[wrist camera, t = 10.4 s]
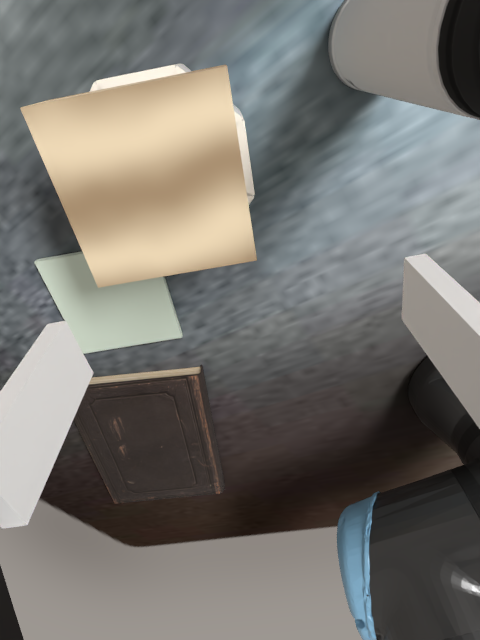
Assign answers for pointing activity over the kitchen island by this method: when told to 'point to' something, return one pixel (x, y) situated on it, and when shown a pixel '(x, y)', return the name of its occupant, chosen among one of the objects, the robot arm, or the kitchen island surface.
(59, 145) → the tan box
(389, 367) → the kitchen island surface
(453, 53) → the travel mug
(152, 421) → the hardcover book
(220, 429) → the kitchen island surface
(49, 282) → the mat
